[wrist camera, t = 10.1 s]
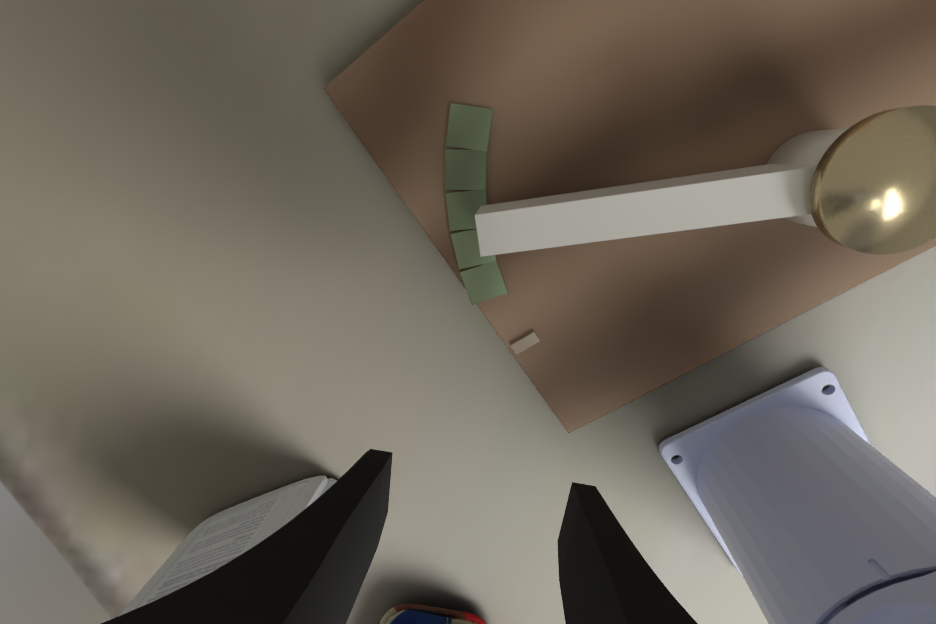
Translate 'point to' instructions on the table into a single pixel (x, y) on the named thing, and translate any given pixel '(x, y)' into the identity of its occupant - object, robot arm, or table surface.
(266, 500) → the photo printer
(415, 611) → the pencil case
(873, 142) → the peg lever
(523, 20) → the board
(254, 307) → the table surface
